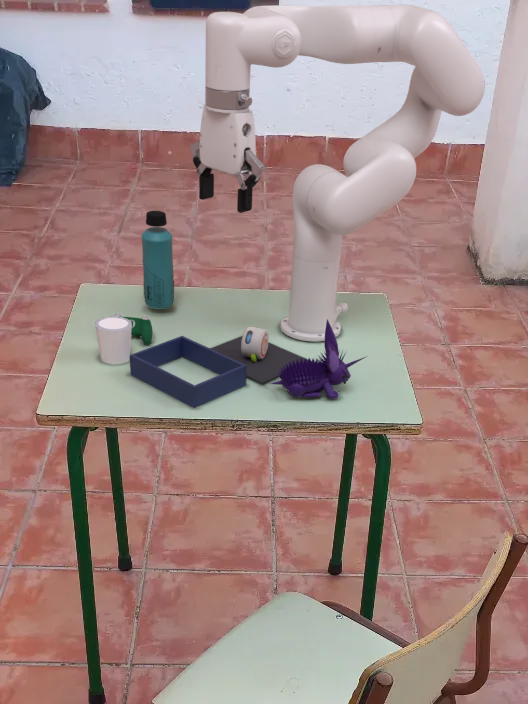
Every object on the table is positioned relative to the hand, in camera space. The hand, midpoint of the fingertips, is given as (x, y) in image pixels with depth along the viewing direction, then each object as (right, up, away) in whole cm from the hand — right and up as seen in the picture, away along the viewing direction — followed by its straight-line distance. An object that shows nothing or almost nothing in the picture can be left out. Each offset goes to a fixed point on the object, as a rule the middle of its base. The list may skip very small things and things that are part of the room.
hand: (225, 204), depth 163 cm
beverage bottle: (-16, -10, +28) cm, 33 cm away
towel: (+5, -25, +11) cm, 28 cm away
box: (-7, -31, +3) cm, 32 cm away
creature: (+17, -34, +2) cm, 38 cm away
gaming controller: (-20, -20, +16) cm, 32 cm away
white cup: (-22, -26, +9) cm, 35 cm away
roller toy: (+5, -25, +11) cm, 28 cm away
